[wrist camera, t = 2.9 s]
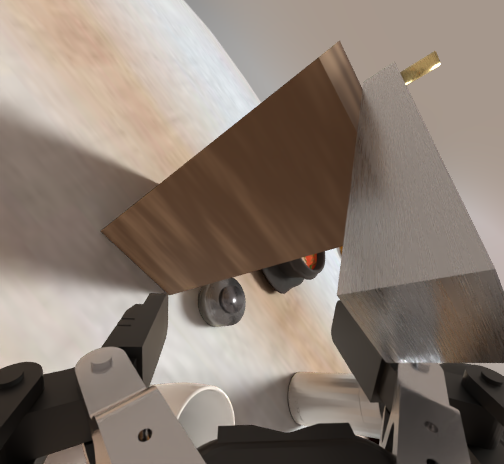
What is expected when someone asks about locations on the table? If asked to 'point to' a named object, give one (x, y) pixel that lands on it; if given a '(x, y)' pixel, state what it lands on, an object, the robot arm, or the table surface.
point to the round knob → (222, 302)
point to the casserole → (294, 271)
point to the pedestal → (254, 187)
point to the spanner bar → (414, 239)
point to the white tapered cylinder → (198, 409)
